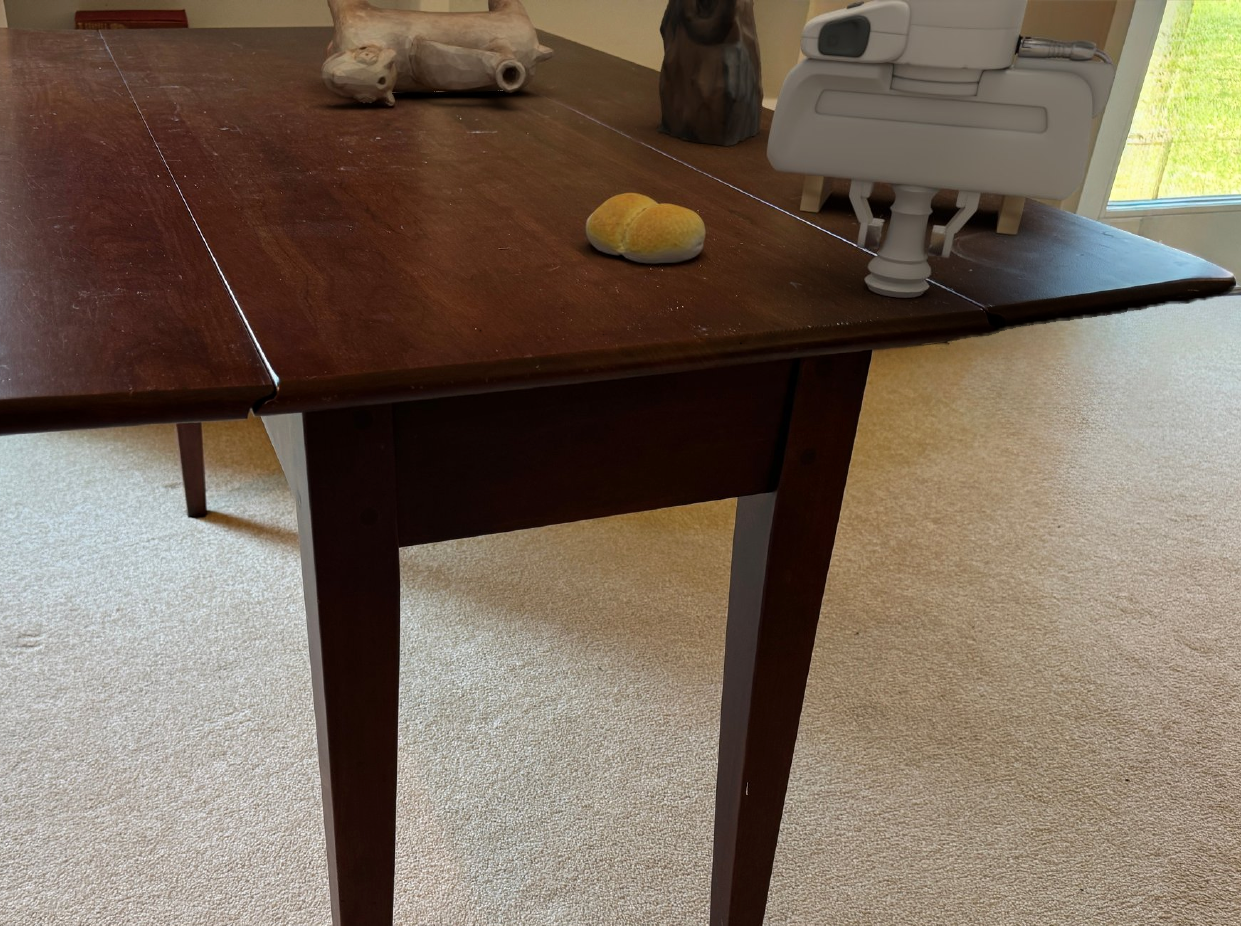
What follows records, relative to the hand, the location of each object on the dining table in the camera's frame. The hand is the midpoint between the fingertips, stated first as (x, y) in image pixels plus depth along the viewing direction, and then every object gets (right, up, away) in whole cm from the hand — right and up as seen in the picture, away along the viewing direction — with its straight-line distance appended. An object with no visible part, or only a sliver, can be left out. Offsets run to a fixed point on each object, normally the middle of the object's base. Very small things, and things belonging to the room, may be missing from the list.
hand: (902, 251), depth 79 cm
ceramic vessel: (-38, +40, +70) cm, 89 cm away
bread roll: (-17, +2, +9) cm, 19 cm away
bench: (+8, +10, +22) cm, 25 cm away
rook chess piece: (0, -3, +2) cm, 3 cm away
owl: (-5, +28, +51) cm, 59 cm away
